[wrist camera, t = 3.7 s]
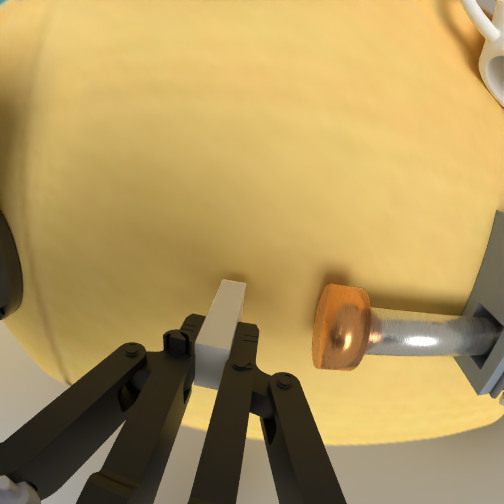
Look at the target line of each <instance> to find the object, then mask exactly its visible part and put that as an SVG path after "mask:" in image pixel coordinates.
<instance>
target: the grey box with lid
mask: <svg viewBox="0 0 504 504" xmlns="http://www.w3.org/2000/svg"><path fill="white" fill-rule="evenodd" d="M462 316H468V317H482V318H496V319H497V320H498V321H499V322H500V323H501V324H502V325H503V326H504V213H503V212H500V211H498V210H497V211H496V216H495V220H494V224H493V228H492V232H491V236H490V239H489V243H488V246H487V250H486V253H485V256H484V259H483V262H482V265H481V268H480V271H479V274H478V277H477V279H476V282H475V285H474V287H473V290H472V292H471V295H470V297H469V300H468V302H467V305H466V307H465V309H464V311H463V314H462ZM453 357H454V359H455V360H456V362H457V363H458V365H459V366H460V368H461V369H462V371H463V372H464V374H465V376H466V377H467V379H468V380H469V382H470V383H471V385H472V387H473V388H474V390H475V392H476V393H477V395H483V394H488V393H490V396H491V397H492V398H497V396H498V395H499V394H500V392H501V391H502V390H504V329H503V331H502V333H501V335H500V337H499V339H498V341H497V343H496V344H495V346H494V348H493V350H492V352H491V353H490V354H486V355H468V356H453Z"/></svg>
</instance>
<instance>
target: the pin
mask: <svg viewBox="0 0 504 504" xmlns="http://www.w3.org/2000/svg"><path fill="white" fill-rule="evenodd" d="M503 329H504V326H503V325H502V324H501V323H500V322H499V321H498V320H497V319H496V318H482V317H468V316H455V315H443V314H431V313H421V312H411V311H401V310H392V309H383V308H374V307H371V305H370V300H369V297H368V294H367V292H366V291H365V290H364V289H363V288H359V287H352V286H345V285H338V284H331V283H330V284H328V285H327V286H326V287H325V289H324V290H323V293H322V295H321V298H320V301H319V304H318V308H317V312H316V316H315V322H314V328H313V337H312V359H313V363H314V366H315V368H317V369H327V370H341V371H352V370H354V369H355V368H356V367H357V366H358V365H359V363H360V362H361V360H362V358H363V356H364V354H366V355H385V356H468V355H486V354H490V353H491V352H492V350H493V348H494V346H495V344H496V343H497V341H498V339H499V337H500V335H501V333H502V331H503Z"/></svg>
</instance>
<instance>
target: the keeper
mask: <svg viewBox="0 0 504 504" xmlns="http://www.w3.org/2000/svg"><path fill="white" fill-rule="evenodd" d="M499 404H501V405H504V392H503V394H502V395H501V397H500V399H499Z"/></svg>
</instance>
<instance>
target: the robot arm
mask: <svg viewBox="0 0 504 504" xmlns="http://www.w3.org/2000/svg"><path fill="white" fill-rule="evenodd" d="M245 290H246V283H243V282H237V281H232V280H226V279H223V280H222V282H221V284H220V286H219V289H218V291H217V293H216V295H215V298H214V300H213V302H212V305H211V307H210V309H209V311H208V314H207V316H202V315H197V314H191V315H189V316H188V317H186V319H185V321H184V322H183V324H182V326H181V328H180V330H177V329H176V330H170V331H168V332H166V333H165V334H164V335H163V343H164V350H163V351H160V352H146V349H145V348H144V346H142V345H141V344H138V343H133V342H130V343H125V344H123V345H122V346H120V347H119V348H118V349H117V350H115V351H114V352H113V353H112V354H110V355H109V356H108V357H107V358H105V359H104V360H103V361H102V362H100V363H99V364H98V365H97V366H95V367H94V368H93V369H92V370H90V371H89V372H88V373H87V374H86V375H84V376H83V377H82V378H81V379H79V380H78V381H77V382H76V383H74V384H73V385H72V386H71V387H70V388H68V389H67V390H66V391H65V392H63V393H62V394H61V395H60V396H59V397H57V398H56V399H55V400H54V401H52V402H51V403H50V404H49V405H48V406H46V407H45V408H44V409H43V410H41V411H40V412H39V413H38V414H37V415H35V416H34V417H33V418H32V419H31V420H29V421H28V422H27V423H26V424H24V425H23V426H22V427H21V428H20V429H18V430H17V431H16V432H15V433H14V434H12V435H11V436H10V437H9V438H8V439H6V440H5V441H4V442H2V443H0V504H41V500H43V499H45V498H47V497H49V496H50V495H52V494H53V493H55V492H56V491H57V490H58V489H59V488H60V487H62V485H63V484H64V483H65V482H66V481H67V480H68V479H69V478H70V477H71V476H72V475H73V474H74V473H75V472H76V471H77V470H78V469H79V468H80V467H81V466H82V465H83V464H84V463H85V462H86V461H87V460H88V459H89V458H90V457H91V456H92V454H94V453H95V451H97V449H98V448H99V447H100V446H101V445H102V444H103V443H104V442H105V441H106V440H107V439H108V438H109V437H110V436H111V435H112V434H113V433H114V432H115V431H116V430H117V428H118V427H119V426H120V425H121V424H122V423H123V422H124V421H125V420H126V421H125V423H124V425H123V427H122V429H121V431H120V433H119V434H118V436H117V438H116V441H115V442H114V444H113V446H112V448H111V450H110V452H109V454H108V456H107V458H106V460H105V462H104V465H103V466H102V468H101V470H100V471H99V472H96V473H93V474H92V475H90V477H89V478H88V480H87V482H86V484H85V486H84V488H83V490H82V492H81V494H80V496H79V498H78V500H77V502H76V504H153V503H154V500H155V497H156V494H157V491H158V488H159V485H160V482H161V479H162V476H163V473H164V470H165V467H166V464H167V461H168V458H169V456H170V452H171V450H172V447H173V444H174V441H175V438H176V435H177V432H178V429H179V427H180V424H181V421H182V418H183V415H184V412H185V409H186V407H187V404H188V401H189V398H190V395H191V391H192V383H193V380H194V385H197V386H202V387H206V388H211V389H216V390H218V393H217V397H216V400H215V404H214V408H213V412H212V416H211V419H210V423H209V427H208V431H207V435H206V438H205V442H204V446H203V449H202V453H201V457H200V461H199V464H198V468H197V472H196V476H195V480H194V483H193V487H192V491H191V495H190V498H189V502H188V503H187V504H236V498H237V492H238V486H239V480H240V473H241V467H242V460H243V453H244V446H245V439H246V433H247V426H248V418H249V412H250V413H253V414H255V415H258V416H260V422H261V427H262V431H263V436H264V440H265V444H266V449H267V453H268V457H269V462H270V466H271V470H272V475H273V479H274V483H275V487H276V491H277V496H278V500H279V504H347V503H346V501H345V498H344V496H343V493H342V490H341V488H340V485H339V483H338V480H337V477H336V475H335V472H334V470H333V467H332V465H331V462H330V459H329V457H328V454H327V452H326V449H325V446H324V444H323V441H322V439H321V436H320V434H319V431H318V428H317V426H316V423H315V421H314V418H313V415H312V413H311V410H310V408H309V405H308V402H307V400H306V397H305V395H304V392H303V389H302V387H301V384H300V382H299V380H298V379H297V378H296V377H295V376H294V375H292V374H289V373H285V372H279V373H275V374H274V375H272V376H271V375H268V374H266V373H264V372H262V371H261V370H260V369H259V368H258V367H257V365H256V353H257V345H258V337H259V329H258V327H257V325H255V324H249V323H243V322H241V317H242V311H243V304H244V297H245ZM21 298H22V278H21V270H20V265H19V260H18V256H17V252H16V248H15V245H14V242H13V239H12V236H11V233H10V230H9V228H8V225H7V223H6V221H5V219H4V217H3V215H2V213H1V211H0V320H3V319H5V318H6V317H8V316H9V315H10V314H12V313H13V312H14V311H15V310H17V308H18V307H19V305H20V302H21Z"/></svg>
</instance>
